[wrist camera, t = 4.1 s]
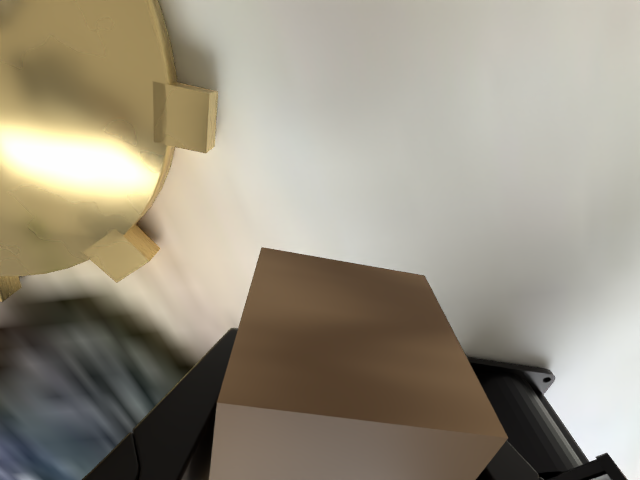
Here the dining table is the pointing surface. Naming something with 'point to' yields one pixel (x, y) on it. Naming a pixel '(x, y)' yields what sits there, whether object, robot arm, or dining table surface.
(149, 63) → the sprocket
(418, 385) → the block
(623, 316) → the dining table surface
